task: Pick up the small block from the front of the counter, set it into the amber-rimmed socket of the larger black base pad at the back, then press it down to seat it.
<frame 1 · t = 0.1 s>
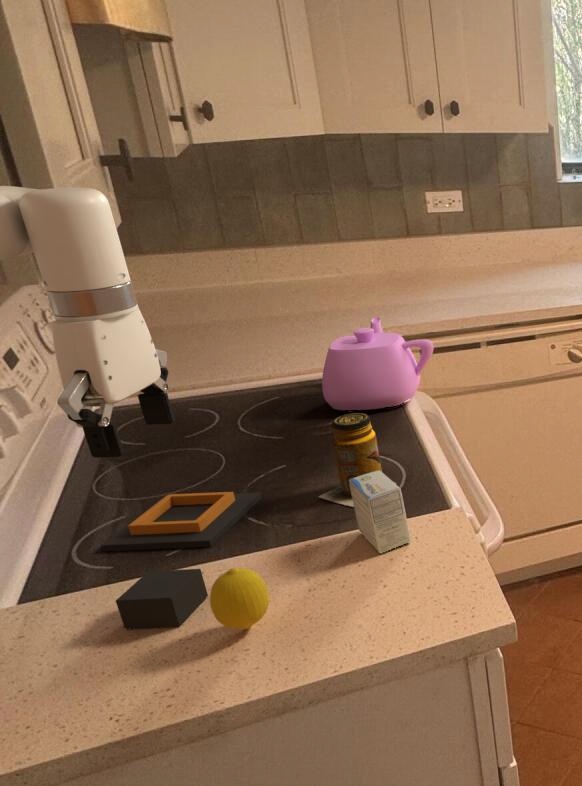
hand: (135, 439, 94), 19 cm above the countertop, tool pointing down, fingers open, 9 cm apart
small block: (168, 612, 93), on the countertop
base pad: (187, 523, 113), on the countertop
teapot: (376, 400, 159), on the countertop
lemon: (248, 629, 90), on the countertop
condiment: (358, 492, 122), on the countertop
medicine box: (385, 539, 109), on the countertop
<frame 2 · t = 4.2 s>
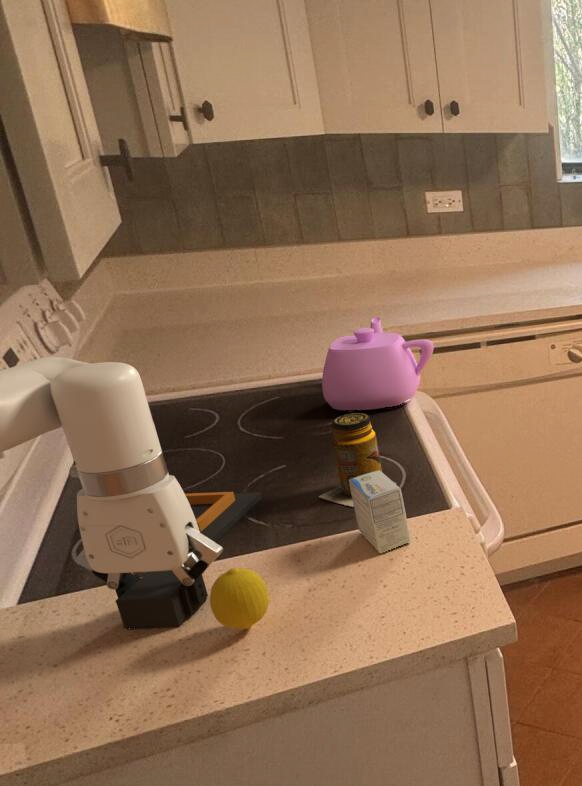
hand: (166, 608, 93), 1 cm above the countertop, tool pointing down, fingers closed on small block, 6 cm apart
small block: (168, 612, 93), on the countertop, touching gripper
everything else where it was.
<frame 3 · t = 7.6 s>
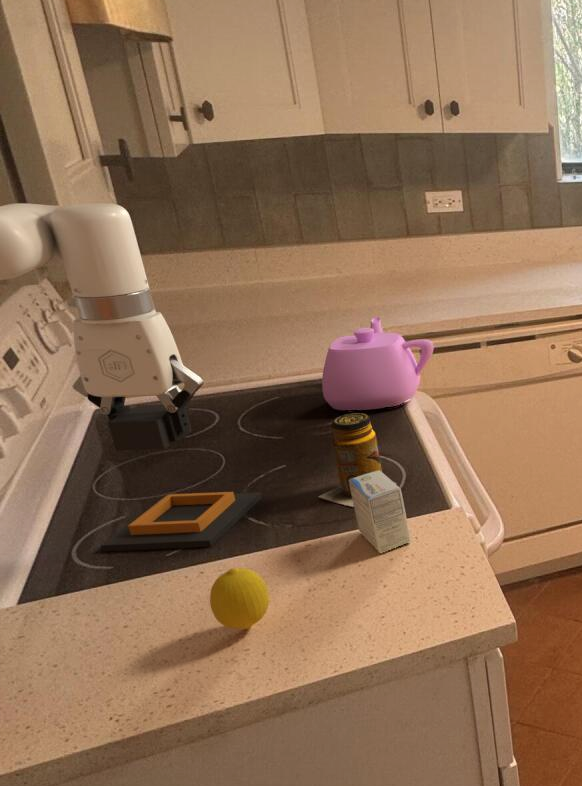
hand: (153, 436, 104), 15 cm above the countertop, tool pointing down, fingers closed on small block, 6 cm apart
small block: (155, 440, 104), point 15 cm above the countertop, touching gripper
everything else where it was.
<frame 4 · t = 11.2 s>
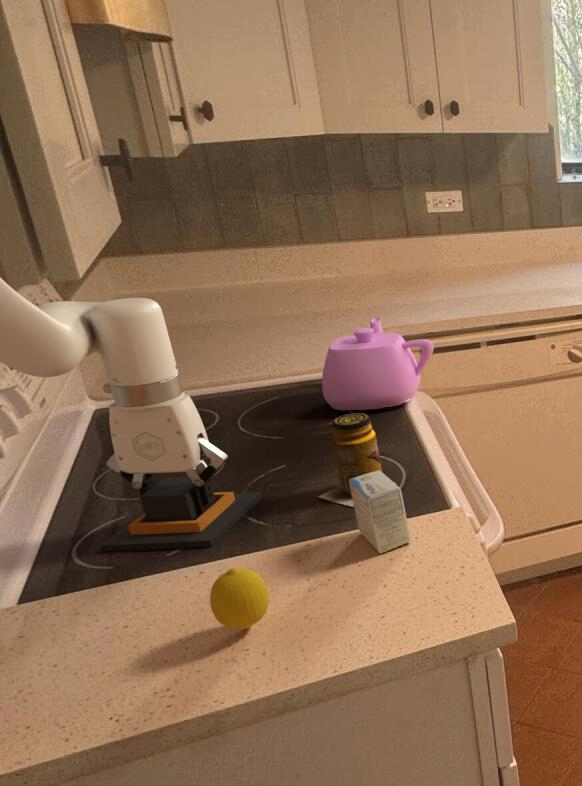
hand: (181, 507, 112), 3 cm above the countertop, tool pointing down, fingers closed on small block, 6 cm apart
small block: (182, 510, 112), point 2 cm above the countertop, touching gripper
everything else where it was.
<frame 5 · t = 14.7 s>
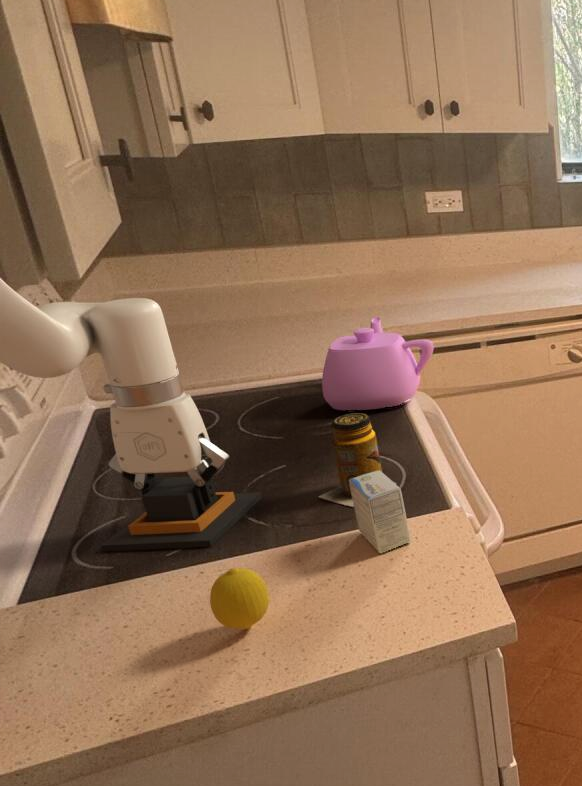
hand: (183, 507, 112), 3 cm above the countertop, tool pointing down, fingers closed on small block, 5 cm apart
small block: (184, 510, 112), point 2 cm above the countertop, touching gripper
everything else where it was.
when the fingers open (3 cm above the countertop, at t = 18.0 s): small block drops 2 cm, resting on base pad.
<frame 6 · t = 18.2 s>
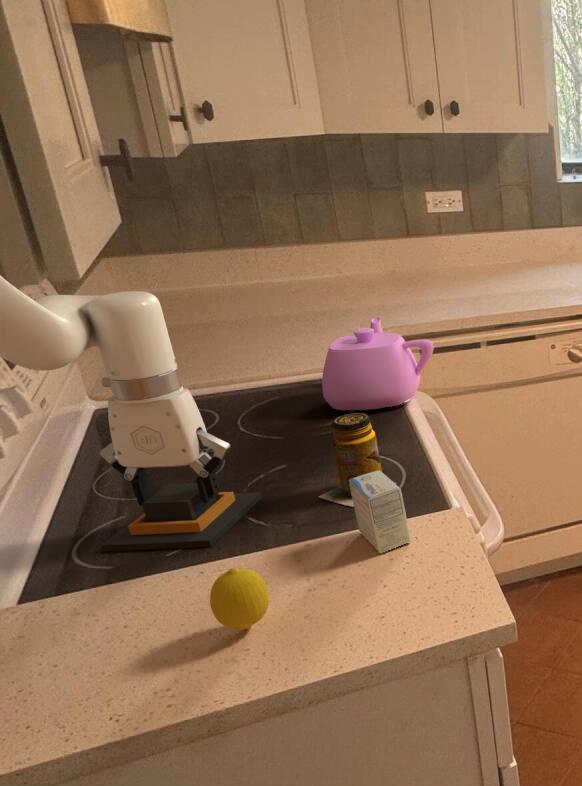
hand: (180, 499, 111), 4 cm above the countertop, tool pointing down, fingers open, 7 cm apart
small block: (184, 517, 112), point 1 cm above the countertop, touching base pad
everything else where it was.
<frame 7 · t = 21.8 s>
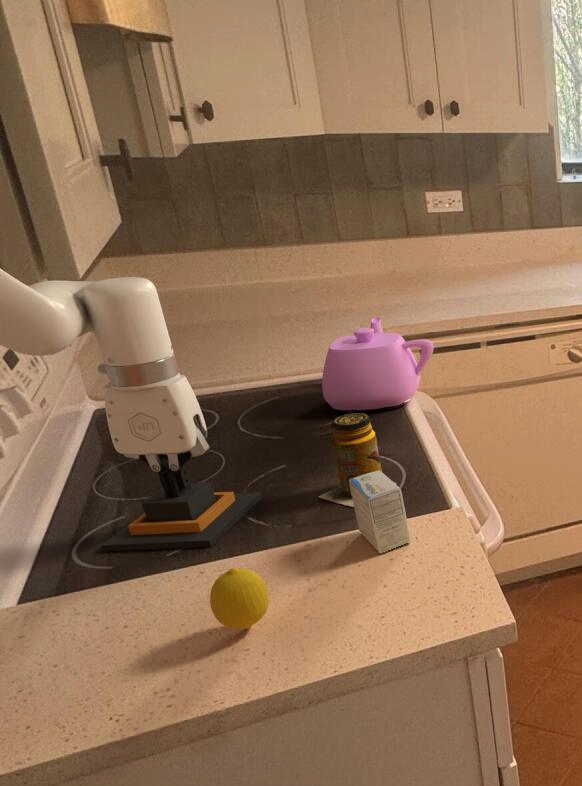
hand: (179, 492, 111), 5 cm above the countertop, tool pointing down, fingers closed
small block: (184, 517, 112), point 1 cm above the countertop, touching base pad, gripper
everything else where it was.
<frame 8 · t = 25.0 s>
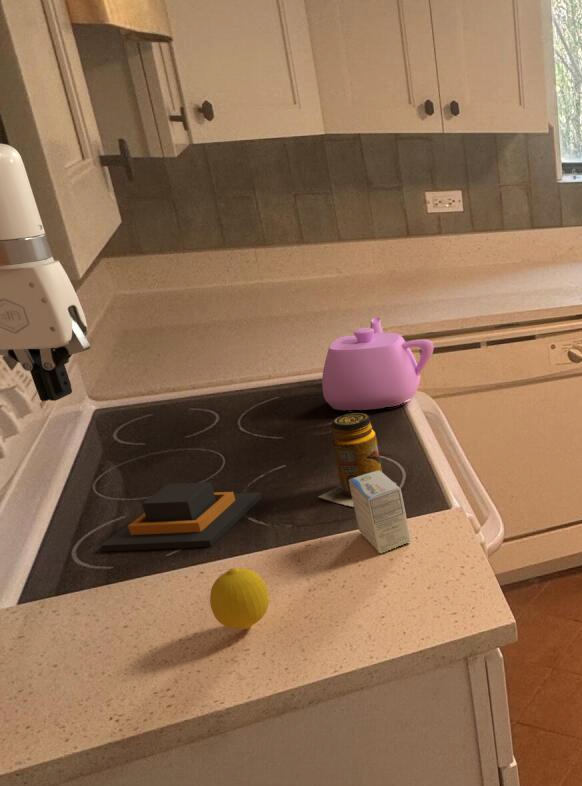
hand: (57, 396, 99), 22 cm above the countertop, tool pointing down, fingers closed
small block: (184, 517, 112), point 1 cm above the countertop, touching base pad
everything else where it was.
at the end: small block 0.1 cm off-centre on the base pad, point 1.0 cm above the base pad's base; small block tilted 0°; the gripper is holding nothing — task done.
